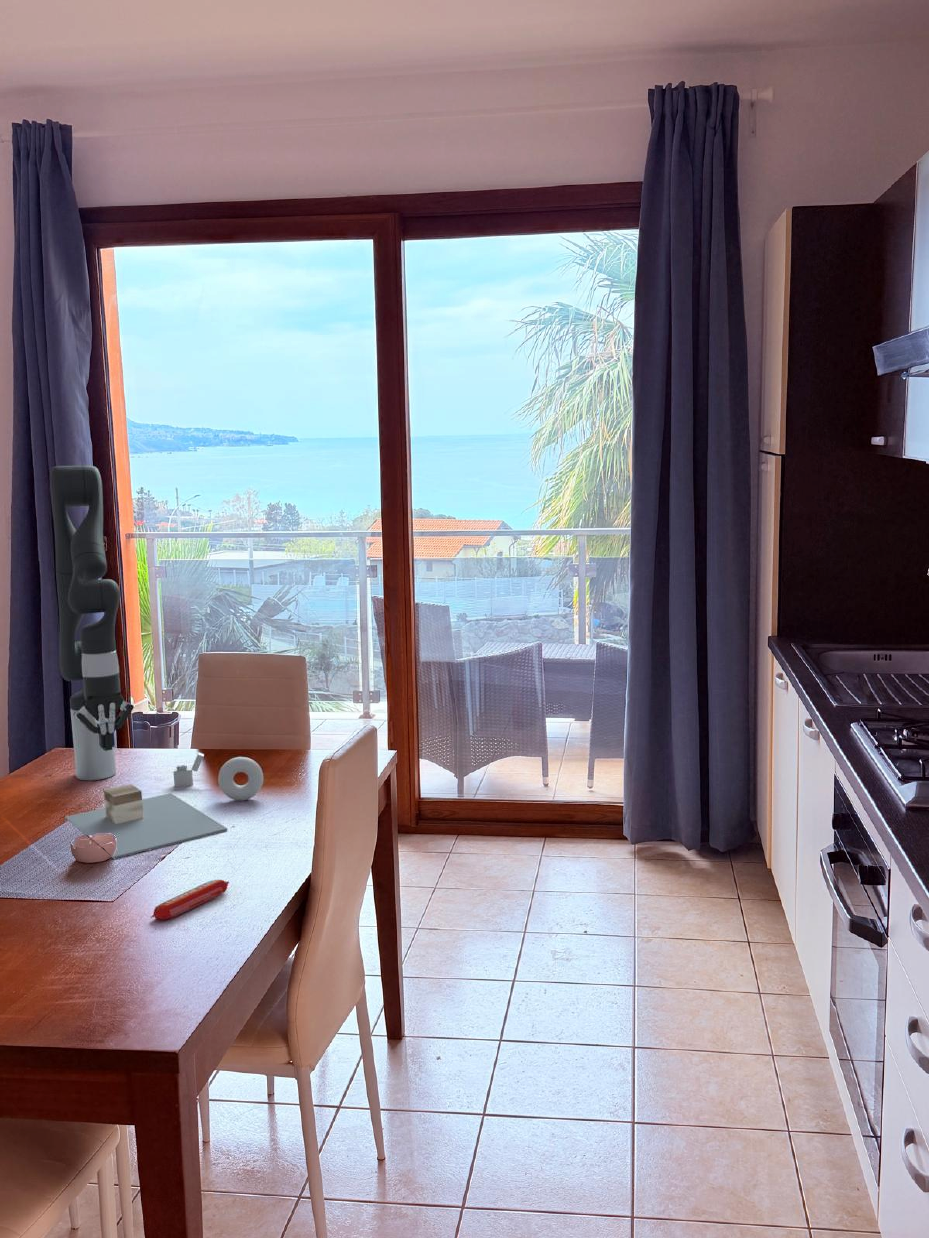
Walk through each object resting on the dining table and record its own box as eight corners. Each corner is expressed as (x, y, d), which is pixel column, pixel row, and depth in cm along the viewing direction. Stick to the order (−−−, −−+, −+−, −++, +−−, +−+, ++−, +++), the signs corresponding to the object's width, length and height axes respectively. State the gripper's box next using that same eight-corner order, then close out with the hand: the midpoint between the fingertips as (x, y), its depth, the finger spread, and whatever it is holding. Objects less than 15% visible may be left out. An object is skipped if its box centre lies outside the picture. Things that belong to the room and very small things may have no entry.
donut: (265, 796, 250) (262, 753, 248) (264, 801, 247) (261, 757, 245) (220, 799, 249) (217, 756, 247) (218, 804, 245) (215, 760, 244)
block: (106, 816, 237) (103, 789, 236) (133, 810, 241) (131, 784, 240) (115, 824, 233) (113, 796, 232) (143, 817, 236) (141, 790, 235)
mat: (64, 818, 238) (64, 816, 238) (170, 795, 252) (170, 793, 252) (113, 859, 214) (112, 856, 214) (227, 830, 229) (227, 828, 228)
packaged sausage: (218, 888, 200) (217, 873, 199) (232, 893, 198) (231, 877, 197) (148, 922, 187) (146, 905, 186) (162, 926, 185) (161, 910, 184)
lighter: (174, 789, 257) (172, 755, 255) (175, 786, 258) (172, 753, 257) (205, 786, 258) (203, 753, 257) (206, 784, 260) (204, 751, 258)
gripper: (124, 665, 245) (130, 740, 248) (64, 674, 237) (71, 752, 240) (137, 670, 239) (143, 747, 242) (75, 679, 231) (82, 759, 234)
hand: (107, 749), depth 241 cm, fingers closed
